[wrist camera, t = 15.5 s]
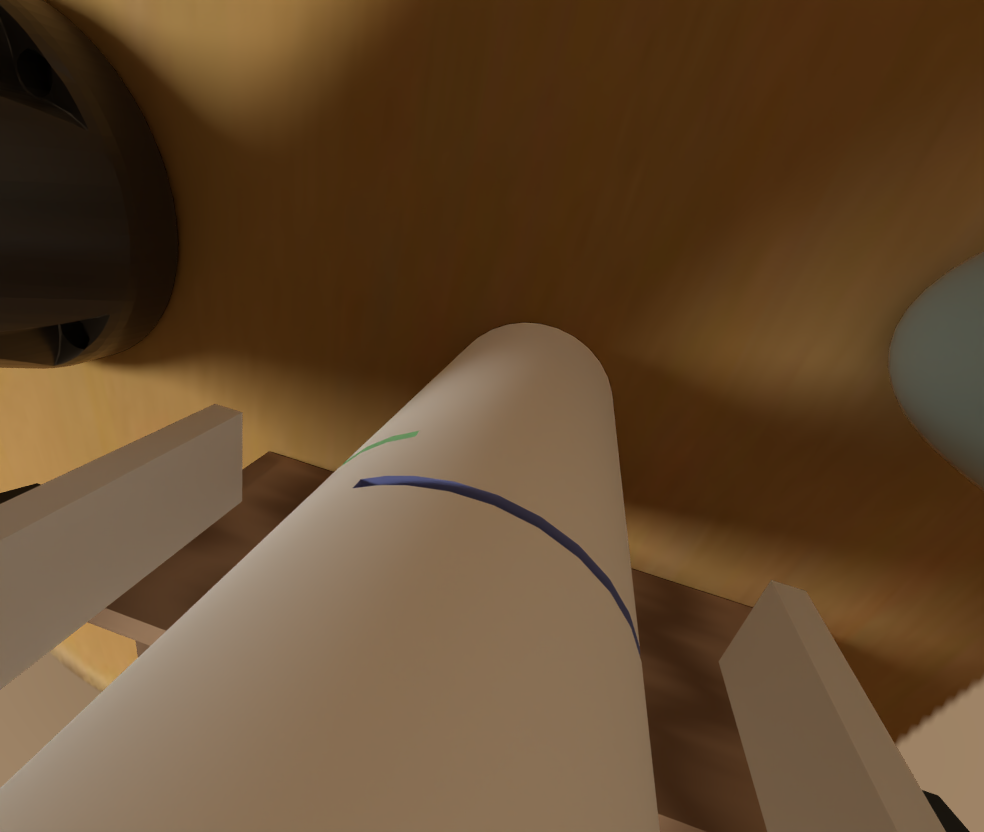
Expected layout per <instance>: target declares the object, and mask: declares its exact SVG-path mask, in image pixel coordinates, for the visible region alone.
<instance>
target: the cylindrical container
mask: <svg viewBox="0 0 984 832" xmlns="http://www.w3.org/2000/svg"><path fill="white" fill-rule="evenodd" d="M0 832H660V829H659V820H658V811H657V802H656V792H655V783H654V774H653V764H652V755H651V746H650V737H649V727H648V718H647V709H646V700H645V690H644V681H643V672H642V662H641V659H640V644H639V635H638V626H637V617H636V608H635V599H634V590H633V581H632V571H631V562H630V553H629V544H628V535H627V526H626V517H625V508H624V499H623V490H622V481H621V472H620V462H619V453H618V444H617V434H616V425H615V415H614V406H613V396H612V391H611V387H610V383H609V380H608V377H607V375H606V373H605V371H604V369H603V367H602V365H601V363H600V361H599V360H598V359H597V358H596V357H595V355H594V354H593V353H592V352H591V350H590V349H589V348H588V347H587V346H585V345H584V344H583V343H582V342H580V341H579V340H578V339H576V338H575V337H574V336H572V335H570V334H568V333H566V332H564V331H562V330H560V329H558V328H554V327H551V326H547V325H543V324H536V323H516V324H508V325H505V326H502V327H498V328H495V329H492V330H490V331H489V332H487V333H485V334H483V335H481V336H480V337H478V338H477V339H476V340H474V341H473V342H472V343H471V344H470V345H469V346H468V347H467V348H465V349H464V350H463V351H462V352H461V353H460V354H459V355H458V356H457V357H456V358H455V359H454V360H453V361H452V362H451V363H450V364H448V365H447V366H446V367H445V368H444V369H443V370H442V371H441V372H440V373H439V374H438V375H437V376H436V377H435V378H434V379H433V380H431V381H430V382H429V383H428V384H427V385H426V386H425V387H424V388H423V389H422V390H421V391H420V392H419V393H418V394H417V395H416V396H414V397H413V398H412V399H411V400H410V401H409V402H408V403H407V404H406V405H405V406H404V407H403V408H402V409H401V410H400V411H399V412H398V413H396V414H395V415H394V416H393V417H392V418H391V419H390V420H389V421H388V422H387V423H386V424H385V425H384V426H383V427H382V428H381V429H379V430H378V431H377V432H376V433H375V434H374V435H373V436H372V437H371V438H370V439H369V440H368V441H367V442H366V443H365V444H364V445H362V446H361V447H360V448H359V449H358V450H357V451H356V452H355V453H354V454H353V455H352V456H351V457H350V458H349V459H348V460H347V461H346V462H345V463H344V464H343V465H342V466H341V467H339V468H338V469H337V470H336V471H335V472H334V473H333V474H332V475H331V476H330V477H329V478H328V479H326V480H325V481H324V482H323V483H322V484H321V485H320V486H319V487H318V488H317V489H316V490H315V491H314V492H313V493H312V494H311V495H310V496H308V497H307V498H306V499H305V500H304V501H303V502H302V503H301V504H300V505H299V506H298V507H297V508H296V509H295V510H294V511H293V512H292V513H291V514H289V515H288V516H287V517H286V518H285V519H284V520H283V521H282V522H281V523H280V524H279V525H278V526H277V527H276V528H275V529H274V530H273V531H271V532H270V533H269V534H268V535H267V536H266V537H265V538H264V539H263V540H262V541H261V542H260V543H259V544H258V545H257V546H256V547H255V548H254V549H252V550H251V551H250V552H249V553H248V554H247V555H246V556H245V557H244V558H243V559H242V560H241V561H240V562H239V563H238V564H237V565H236V566H234V567H233V568H232V569H231V570H230V571H229V572H228V573H227V574H226V575H225V576H224V577H223V578H222V579H221V580H220V581H219V582H218V583H217V584H215V585H214V586H213V587H212V588H211V589H210V590H209V591H208V592H207V593H206V594H205V595H204V596H203V597H202V598H201V599H200V600H199V601H197V602H196V603H195V604H194V605H193V606H192V607H191V608H190V609H189V610H188V611H187V612H186V613H185V614H184V615H183V616H182V617H181V618H179V619H178V620H177V621H176V622H175V623H174V624H173V625H172V626H171V627H170V628H169V629H168V630H167V631H166V632H165V633H164V634H163V635H162V636H160V637H159V638H158V639H157V640H156V641H155V642H154V643H153V644H152V645H151V646H150V647H149V648H148V649H147V650H146V651H145V652H144V653H142V654H141V655H140V656H139V657H138V658H137V659H136V660H135V661H134V662H133V663H132V664H131V665H130V666H129V667H128V668H127V669H126V670H125V671H123V672H122V673H121V674H120V675H119V676H118V677H117V678H116V679H115V680H114V681H113V682H112V683H111V684H110V685H109V686H108V687H107V688H105V689H104V690H103V691H102V692H101V693H100V694H99V695H98V696H97V697H96V698H95V699H94V700H93V701H92V702H91V703H90V704H89V705H88V706H86V708H84V709H83V710H82V711H81V712H80V713H79V714H78V715H77V716H76V717H75V718H74V719H73V720H72V721H71V722H70V723H68V724H67V726H65V727H64V728H63V729H62V730H61V731H60V732H59V733H58V734H57V735H56V736H55V737H54V738H53V739H52V740H50V741H49V742H48V743H47V744H46V745H45V746H44V747H43V748H42V749H41V750H40V751H39V752H38V753H37V754H36V755H35V756H34V757H33V758H32V759H30V760H29V761H28V762H27V763H26V764H25V765H24V766H23V767H22V768H21V769H20V770H19V771H18V772H17V773H16V774H15V775H14V776H12V777H11V778H10V779H9V780H8V781H7V782H6V783H5V784H4V785H3V786H2V787H1V788H0Z"/></svg>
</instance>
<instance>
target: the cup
mask: <svg viewBox="0 0 984 832" xmlns="http://www.w3.org/2000/svg"><path fill="white" fill-rule="evenodd" d="M888 372H889V378H890V385H891V387H892V390H893V392H894V394H895V397H896V399H897V402H898V404H899V406H900V408H901V410H902V412H903V413H904V415H905V416H906V417H907V419H908V420H909V422H910V423H911V424H912V426H913V427H914V428H915V430H916V431H917V432H918V434H919V435H920V436H921V437H922V439H923V440H924V441H926V442H927V443H928V444H929V445H930V446H931V447H932V448H933V449H934V450H935V451H936V452H937V453H938V454H939V455H940V456H941V457H942V458H944V459H945V460H946V461H947V462H948V463H949V464H950V465H951V466H953V467H954V468H955V469H956V470H957V471H959V472H960V473H961V474H962V475H963V476H964V477H966V478H967V479H968V480H969V481H970V482H972V483H973V484H974V485H975V486H977V487H978V488H979V489H981V490H982V491H983V492H984V251H982V252H980V253H978V254H975V255H973V256H971V257H970V258H968V259H967V260H965V261H963V262H962V263H960V264H959V265H957V266H955V267H954V268H952V269H951V270H949V271H947V272H946V273H945V274H944V275H942V276H941V277H940V278H939V279H937V280H936V281H935V282H934V283H932V284H931V285H930V286H929V287H927V288H926V289H925V290H924V291H923V292H922V293H921V294H920V295H919V296H918V297H917V298H916V299H915V300H914V301H913V302H912V303H911V305H910V306H909V307H908V308H907V309H906V311H905V312H904V314H903V315H902V317H901V319H900V320H899V322H898V323H897V325H896V327H895V330H894V333H893V336H892V339H891V342H890V345H889V355H888Z"/></svg>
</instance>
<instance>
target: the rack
mask: <svg viewBox="0 0 984 832" xmlns="http://www.w3.org/2000/svg"><path fill="white" fill-rule="evenodd" d="M333 473H334V472H331V471H328V470H325V469H322V468H318V467H315V466H312V465H309V464H306V463H303V462H300V461H297V460H294V459H291V458H288V457H284V456H281V455H278V454H275V453H272V452H267V453H266V454H265V455H263V456H262V457H260V458H259V459H257V460H256V461H254V462H253V463H251V464H250V465H249V466H247V467H246V468H244V469H243V470H242V502H241V503H239V504H238V505H237V506H235V507H234V508H233V509H232V510H230V511H229V512H228V513H226V514H225V515H224V516H223V517H221V518H220V519H219V520H217V521H216V522H215V523H214V524H212V525H211V526H210V527H208V528H207V529H206V530H205V531H203V532H202V533H201V534H199V535H198V536H197V537H196V538H194V539H193V540H192V541H190V542H189V543H188V544H187V545H185V546H184V547H183V548H182V549H180V550H179V551H178V552H176V553H175V554H174V555H173V556H171V557H170V558H169V559H167V560H166V561H165V562H164V563H162V564H161V565H160V566H158V567H157V568H156V569H155V570H153V571H152V572H151V573H149V574H148V575H147V576H146V577H144V578H143V579H142V580H140V581H139V582H138V583H137V584H135V585H134V586H133V587H132V588H130V589H129V590H128V591H126V592H125V593H124V594H123V595H121V596H120V597H119V598H117V599H116V600H115V601H114V602H112V603H111V604H110V605H108V606H107V607H106V608H105V609H103V610H102V611H101V612H99V613H98V614H97V615H96V616H94V617H93V618H92V619H90V620H89V621H88V623H91V624H93V625H96V626H99V627H101V628H104V629H107V630H109V631H112V632H115V633H117V634H120V635H123V636H125V637H128V638H131V639H133V640H136V647H137V654H138V657H139V656H140V655H141V654H142V653H144V652H145V651H146V650H147V649H148V648H149V647H150V646H151V645H152V644H153V643H154V642H155V641H156V640H157V639H158V638H159V637H160V636H162V635H163V634H164V633H165V632H166V631H167V630H168V629H169V628H170V627H171V626H172V625H173V624H174V623H175V622H176V621H177V620H178V619H179V618H181V617H182V616H183V615H184V614H185V613H186V612H187V611H188V610H189V609H190V608H191V607H192V606H193V605H194V604H195V603H196V602H197V601H199V600H200V599H201V598H202V597H203V596H204V595H205V594H206V593H207V592H208V591H209V590H210V589H211V588H212V587H213V586H214V585H215V584H217V583H218V582H219V581H220V580H221V579H222V578H223V577H224V576H225V575H226V574H227V573H228V572H229V571H230V570H231V569H232V568H233V567H234V566H236V565H237V564H238V563H239V562H240V561H241V560H242V559H243V558H244V557H245V556H246V555H247V554H248V553H249V552H250V551H251V550H252V549H254V548H255V547H256V546H257V545H258V544H259V543H260V542H261V541H262V540H263V539H264V538H265V537H266V536H267V535H268V534H269V533H270V532H271V531H273V530H274V529H275V528H276V527H277V526H278V525H279V524H280V523H281V522H282V521H283V520H284V519H285V518H286V517H287V516H288V515H289V514H291V513H292V512H293V511H294V510H295V509H296V508H297V507H298V506H299V505H300V504H301V503H302V502H303V501H304V500H305V499H306V498H307V497H308V496H310V495H311V494H312V493H313V492H314V491H315V490H316V489H317V488H318V487H319V486H320V485H321V484H322V483H323V482H324V481H325V480H326V479H328V478H329V477H330V476H331V475H332V474H333ZM631 571H632V581H633V590H634V599H635V608H636V617H637V626H638V635H639V644H640V659H641V662H642V672H643V681H644V690H645V700H646V709H647V718H648V727H649V737H650V746H651V755H652V764H653V774H654V783H655V792H656V802H657V811H658V820H659V829H660V832H767V829H766V826H765V822H764V819H763V815H762V812H761V808H760V805H759V801H758V798H757V794H756V791H755V787H754V784H753V780H752V777H751V773H750V770H749V766H748V763H747V759H746V756H745V752H744V749H743V745H742V742H741V738H740V735H739V731H738V728H737V724H736V721H735V717H734V714H733V710H732V707H731V703H730V700H729V696H728V693H727V689H726V686H725V682H724V679H723V675H722V672H721V668H720V665H719V660H720V659H721V657H722V655H723V654H724V652H725V651H726V649H727V648H728V646H729V645H730V643H731V642H732V640H733V638H734V637H735V635H736V634H737V632H738V631H739V629H740V628H741V626H742V624H743V623H744V621H745V620H746V618H747V617H748V615H749V614H750V612H751V610H752V609H753V608H751V607H748V606H745V605H742V604H739V603H736V602H733V601H730V600H727V599H723V598H720V597H717V596H714V595H711V594H708V593H705V592H702V591H699V590H696V589H693V588H689V587H686V586H683V585H680V584H677V583H674V582H671V581H668V580H665V579H662V578H659V577H655V576H652V575H649V574H646V573H643V572H640V571H637V570H634V569H631Z"/></svg>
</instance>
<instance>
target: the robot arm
mask: <svg viewBox="0 0 984 832" xmlns="http://www.w3.org/2000/svg"><path fill="white" fill-rule="evenodd" d="M177 253H178V238H177V224H176V215H175V208H174V203H173V198H172V193H171V189H170V185H169V181H168V177H167V174H166V171H165V168H164V164H163V161H162V158H161V156H160V153H159V150H158V148H157V145H156V143H155V140H154V138H153V136H152V134H151V131H150V129H149V127H148V125H147V123H146V121H145V119H144V117H143V115H142V113H141V111H140V109H139V108H138V106H137V104H136V102H135V100H134V99H133V97H132V95H131V94H130V92H129V91H128V89H127V87H126V86H125V84H124V83H123V81H122V80H121V78H120V77H119V76H118V74H117V73H116V71H115V70H114V68H113V67H112V66H111V65H110V63H109V62H108V61H107V60H106V58H105V57H104V56H103V54H102V53H101V52H100V51H99V50H98V49H97V48H96V46H95V45H94V44H93V43H92V42H91V41H90V40H89V39H88V38H87V37H86V36H85V35H84V34H83V33H82V32H81V31H80V30H79V29H78V28H77V27H76V26H75V25H74V24H73V23H72V22H71V21H70V20H68V19H67V18H66V17H65V16H64V15H62V14H61V13H60V12H59V11H57V10H56V9H55V8H54V7H52V6H51V5H49V4H48V3H47V2H45V1H44V0H0V368H43V369H44V368H57V367H65V366H71V365H75V364H79V363H83V362H87V361H91V360H94V359H98V358H102V357H106V356H110V355H113V354H117V353H120V352H122V351H125V350H127V349H129V348H130V347H132V346H134V345H135V344H137V343H138V342H140V341H141V340H142V339H143V338H144V337H146V336H147V334H148V333H149V332H150V331H151V330H152V329H153V328H154V326H155V325H156V324H157V322H158V321H159V319H160V317H161V316H162V314H163V312H164V310H165V308H166V306H167V303H168V301H169V298H170V295H171V292H172V288H173V285H174V280H175V274H176V267H177ZM241 502H242V412H239V411H236V410H233V409H230V408H227V407H223V406H220V405H217V404H213V405H211V406H209V407H207V408H205V409H203V410H201V411H198V412H196V413H194V414H192V415H190V416H188V417H186V418H183V419H181V420H179V421H177V422H175V423H173V424H171V425H168V426H166V427H164V428H162V429H160V430H158V431H156V432H154V433H151V434H149V435H147V436H145V437H143V438H141V439H139V440H136V441H134V442H132V443H130V444H128V445H126V446H124V447H121V448H119V449H117V450H115V451H113V452H111V453H109V454H106V455H104V456H102V457H100V458H98V459H96V460H94V461H91V462H89V463H87V464H85V465H83V466H81V467H79V468H76V469H74V470H72V471H70V472H68V473H66V474H64V475H61V476H59V477H57V478H55V479H53V480H51V481H49V482H46V483H44V484H42V485H40V484H37V483H36V484H33V485H29V486H25V487H21V488H18V489H14V490H10V491H7V492H3V493H0V690H1V689H2V688H3V687H5V686H6V685H7V684H8V683H10V682H11V681H12V680H14V679H15V678H16V677H17V676H19V675H20V674H21V673H23V672H24V671H25V670H26V669H28V668H29V667H30V666H32V665H33V664H34V663H35V662H37V661H38V660H39V659H40V658H42V657H43V656H44V655H46V654H47V653H48V652H49V651H51V650H52V649H53V648H55V647H56V646H57V645H58V644H60V643H61V642H62V641H64V640H65V639H66V638H67V637H69V636H70V635H71V634H73V633H74V632H75V631H76V630H78V629H79V628H80V627H82V626H83V625H84V624H85V623H87V622H88V621H89V620H90V619H92V618H93V617H94V616H96V615H97V614H98V613H99V612H101V611H102V610H103V609H105V608H106V607H107V606H108V605H110V604H111V603H112V602H114V601H115V600H116V599H117V598H119V597H120V596H121V595H123V594H124V593H125V592H126V591H128V590H129V589H130V588H132V587H133V586H134V585H135V584H137V583H138V582H139V581H140V580H142V579H143V578H144V577H146V576H147V575H148V574H149V573H151V572H152V571H153V570H155V569H156V568H157V567H158V566H160V565H161V564H162V563H164V562H165V561H166V560H167V559H169V558H170V557H171V556H173V555H174V554H175V553H176V552H178V551H179V550H180V549H182V548H183V547H184V546H185V545H187V544H188V543H189V542H190V541H192V540H193V539H194V538H196V537H197V536H198V535H199V534H201V533H202V532H203V531H205V530H206V529H207V528H208V527H210V526H211V525H212V524H214V523H215V522H216V521H217V520H219V519H220V518H221V517H223V516H224V515H225V514H226V513H228V512H229V511H230V510H232V509H233V508H234V507H235V506H237V505H238V504H239V503H241ZM719 665H720V668H721V672H722V675H723V679H724V682H725V686H726V689H727V693H728V696H729V700H730V703H731V707H732V710H733V714H734V717H735V721H736V724H737V728H738V731H739V735H740V738H741V742H742V745H743V749H744V752H745V756H746V759H747V763H748V766H749V770H750V773H751V777H752V780H753V784H754V787H755V791H756V794H757V798H758V801H759V805H760V808H761V812H762V815H763V819H764V822H765V826H766V829H767V832H969V831H968V829H967V828H966V827H965V826H964V825H963V823H962V822H961V821H960V820H959V819H958V818H957V817H956V815H955V814H954V813H953V812H952V811H951V810H950V809H949V807H948V806H947V805H946V804H945V803H944V802H943V800H942V799H941V798H940V797H939V796H938V795H935V794H932V793H929V792H926V791H923V790H921V788H920V786H919V785H918V783H917V781H916V779H915V778H914V776H913V774H912V773H911V771H910V769H909V767H908V766H907V764H906V762H905V761H904V759H903V757H902V755H901V754H900V752H899V750H898V748H897V747H896V745H895V743H894V742H893V740H892V738H891V736H890V735H889V733H888V731H887V730H886V728H885V726H884V724H883V723H882V721H881V719H880V718H879V716H878V714H877V712H876V711H875V709H874V707H873V705H872V704H871V702H870V700H869V699H868V697H867V695H866V693H865V692H864V690H863V688H862V687H861V685H860V683H859V681H858V680H857V678H856V676H855V675H854V673H853V671H852V669H851V668H850V666H849V664H848V662H847V661H846V659H845V657H844V656H843V654H842V652H841V650H840V649H839V647H838V645H837V644H836V642H835V640H834V638H833V637H832V635H831V633H830V632H829V630H828V628H827V626H826V625H825V623H824V621H823V619H822V618H821V616H820V614H819V613H818V611H817V609H816V607H815V606H814V604H813V602H812V601H811V599H810V597H809V595H808V594H807V592H806V591H804V590H801V589H798V588H795V587H792V586H789V585H785V584H782V583H779V582H776V581H773V580H771V581H770V583H769V584H768V586H767V587H766V589H765V590H764V592H763V593H762V595H761V597H760V598H759V600H758V601H757V603H756V604H755V606H754V607H753V609H752V610H751V612H750V614H749V615H748V617H747V618H746V620H745V621H744V623H743V624H742V626H741V628H740V629H739V631H738V632H737V634H736V635H735V637H734V638H733V640H732V642H731V643H730V645H729V646H728V648H727V649H726V651H725V652H724V654H723V655H722V657H721V659H720V660H719Z"/></svg>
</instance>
